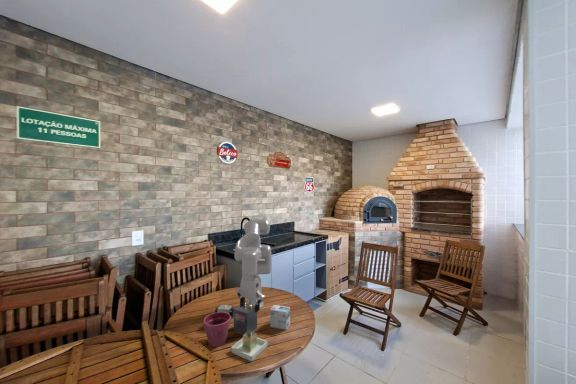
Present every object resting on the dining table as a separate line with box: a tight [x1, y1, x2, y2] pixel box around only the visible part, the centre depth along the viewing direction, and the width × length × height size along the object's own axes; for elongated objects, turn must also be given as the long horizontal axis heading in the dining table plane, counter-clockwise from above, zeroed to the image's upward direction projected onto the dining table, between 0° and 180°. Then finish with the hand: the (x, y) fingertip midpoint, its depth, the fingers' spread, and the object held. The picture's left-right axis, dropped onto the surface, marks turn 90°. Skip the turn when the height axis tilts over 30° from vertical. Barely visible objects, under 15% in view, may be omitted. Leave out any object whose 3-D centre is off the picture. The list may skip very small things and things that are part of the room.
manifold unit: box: [233, 301, 258, 336], centre depth 142 cm, size 9×10×15 cm
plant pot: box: [203, 312, 232, 348], centre depth 131 cm, size 14×14×13 cm
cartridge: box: [242, 331, 257, 352], centre depth 125 cm, size 5×5×8 cm
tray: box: [230, 337, 269, 363], centre depth 125 cm, size 13×13×2 cm
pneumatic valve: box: [214, 304, 235, 320], centre depth 148 cm, size 6×12×12 cm, turn 78°
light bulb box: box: [269, 304, 291, 331], centre depth 147 cm, size 11×7×11 cm, turn 71°
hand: (249, 308), depth 125 cm, fingers open, 9 cm apart
